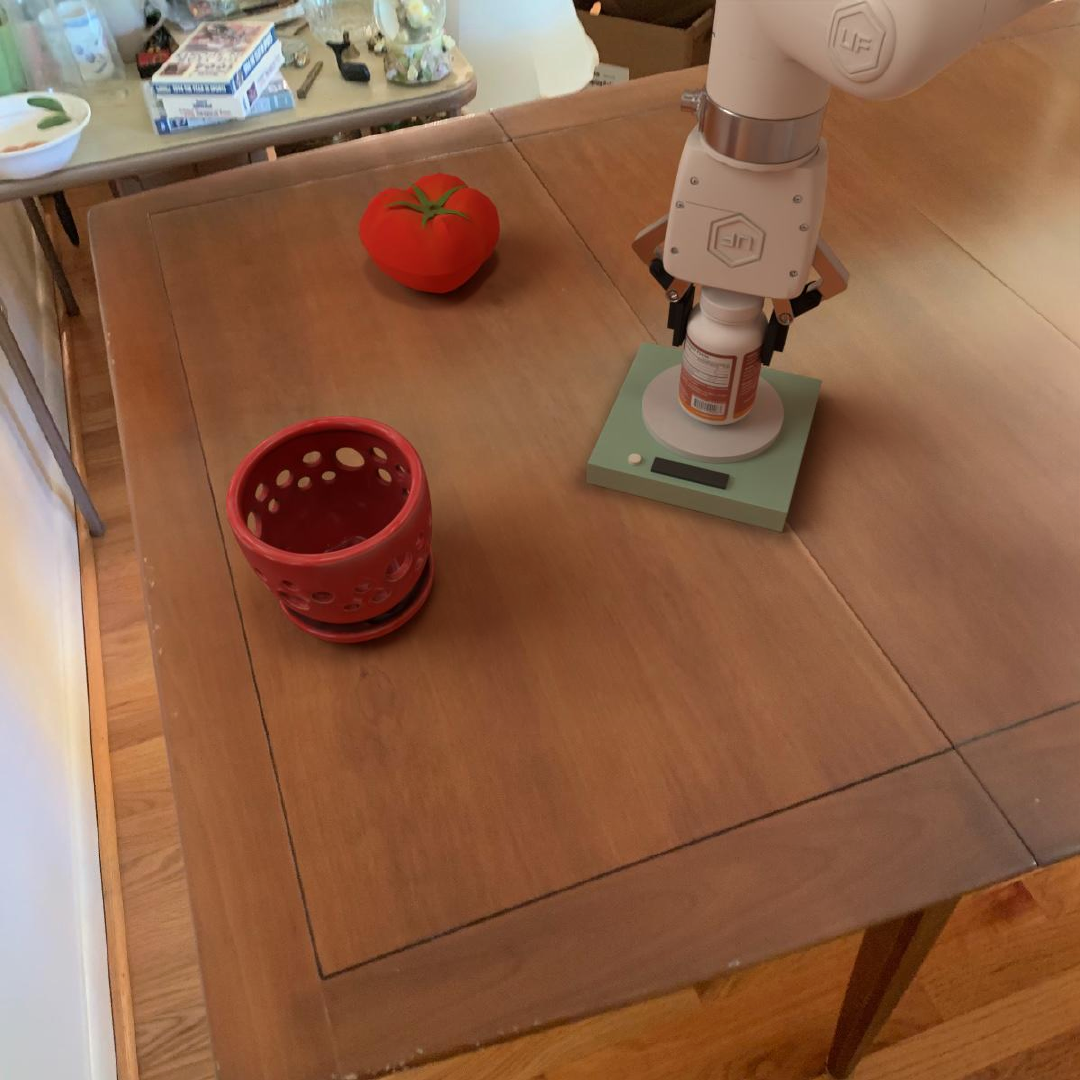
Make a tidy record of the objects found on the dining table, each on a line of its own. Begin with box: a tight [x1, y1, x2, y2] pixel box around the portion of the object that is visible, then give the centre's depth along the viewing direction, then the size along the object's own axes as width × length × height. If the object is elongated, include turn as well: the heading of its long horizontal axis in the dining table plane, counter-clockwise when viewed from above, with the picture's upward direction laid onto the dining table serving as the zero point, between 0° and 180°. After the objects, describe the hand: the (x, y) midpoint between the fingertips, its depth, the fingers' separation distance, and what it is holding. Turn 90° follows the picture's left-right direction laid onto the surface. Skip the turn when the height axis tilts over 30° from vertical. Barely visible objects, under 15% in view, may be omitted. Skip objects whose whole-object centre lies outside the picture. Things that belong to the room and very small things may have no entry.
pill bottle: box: [678, 285, 769, 425], centre depth 75 cm, size 6×6×11 cm
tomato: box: [358, 172, 501, 294], centre depth 94 cm, size 14×13×9 cm
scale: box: [586, 341, 823, 533], centre depth 81 cm, size 16×16×3 cm
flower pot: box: [225, 415, 436, 644], centre depth 68 cm, size 13×13×12 cm
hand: (724, 343), depth 75 cm, fingers closed on pill bottle, 6 cm apart
